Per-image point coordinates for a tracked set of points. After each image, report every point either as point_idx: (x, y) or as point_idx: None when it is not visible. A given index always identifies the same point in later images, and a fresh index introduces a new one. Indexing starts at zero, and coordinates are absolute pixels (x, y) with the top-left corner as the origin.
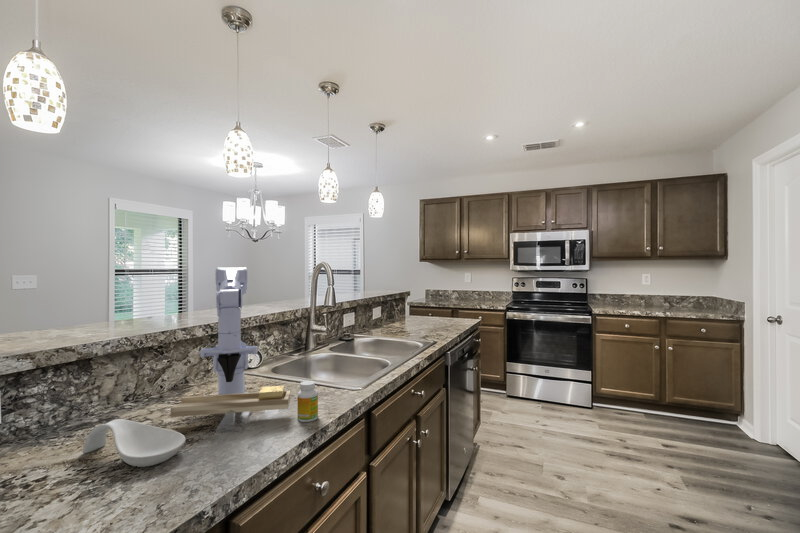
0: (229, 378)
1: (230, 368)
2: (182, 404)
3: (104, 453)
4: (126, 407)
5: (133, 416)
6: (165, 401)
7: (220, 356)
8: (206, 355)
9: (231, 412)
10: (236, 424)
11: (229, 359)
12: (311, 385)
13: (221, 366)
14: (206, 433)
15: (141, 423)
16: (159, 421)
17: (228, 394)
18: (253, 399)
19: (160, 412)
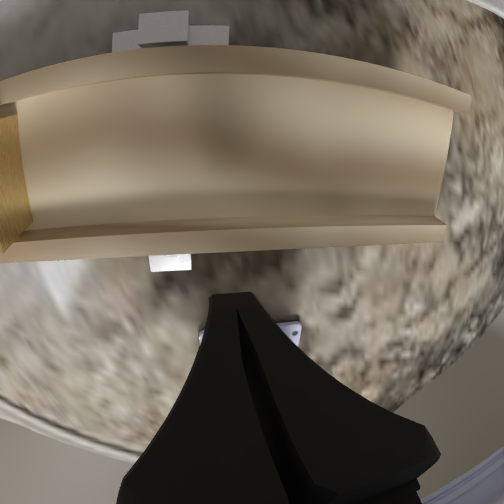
0: (228, 309)
1: (227, 382)
2: (430, 188)
3: (493, 39)
4: (476, 319)
5: (476, 267)
6: (418, 352)
7: (396, 502)
8: (501, 455)
9: (152, 20)
10: None
11: (255, 493)
12: None
13: (347, 387)
14: (269, 38)
15: (496, 9)
16: (437, 217)
17: (222, 240)
18: (64, 197)
19: (434, 286)
